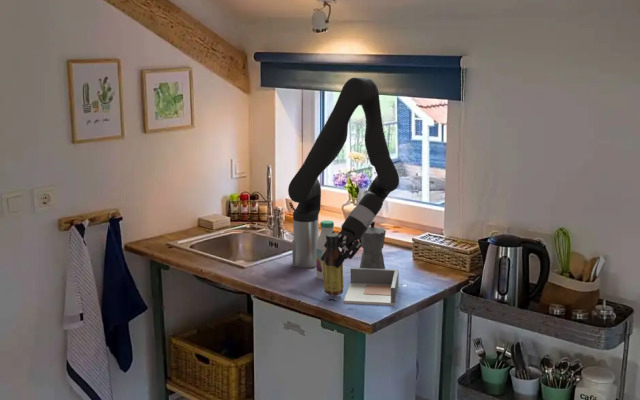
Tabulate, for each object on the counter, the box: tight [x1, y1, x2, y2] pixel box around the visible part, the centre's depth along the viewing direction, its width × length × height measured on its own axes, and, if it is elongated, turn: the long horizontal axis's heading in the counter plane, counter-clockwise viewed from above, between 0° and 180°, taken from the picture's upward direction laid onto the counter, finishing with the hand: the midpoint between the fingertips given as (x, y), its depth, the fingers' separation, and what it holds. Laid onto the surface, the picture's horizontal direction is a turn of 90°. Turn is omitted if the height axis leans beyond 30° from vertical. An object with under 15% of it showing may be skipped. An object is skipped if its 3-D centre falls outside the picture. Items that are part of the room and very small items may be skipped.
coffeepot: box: [358, 221, 387, 269], centre depth 261 cm, size 15×9×18 cm, turn 34°
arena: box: [343, 267, 400, 306], centre depth 237 cm, size 16×18×6 cm
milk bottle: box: [315, 219, 335, 281], centre depth 253 cm, size 8×8×20 cm
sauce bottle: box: [323, 232, 344, 297], centre depth 234 cm, size 6×6×20 cm
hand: (329, 263), depth 233 cm, fingers closed on sauce bottle, 6 cm apart
